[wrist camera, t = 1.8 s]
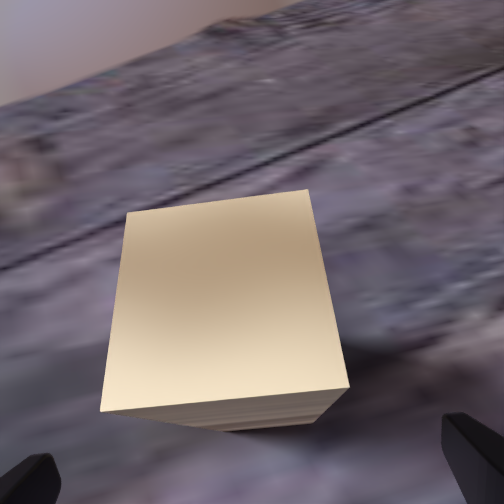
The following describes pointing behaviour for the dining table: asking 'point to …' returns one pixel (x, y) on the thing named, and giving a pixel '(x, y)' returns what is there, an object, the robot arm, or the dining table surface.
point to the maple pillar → (224, 317)
